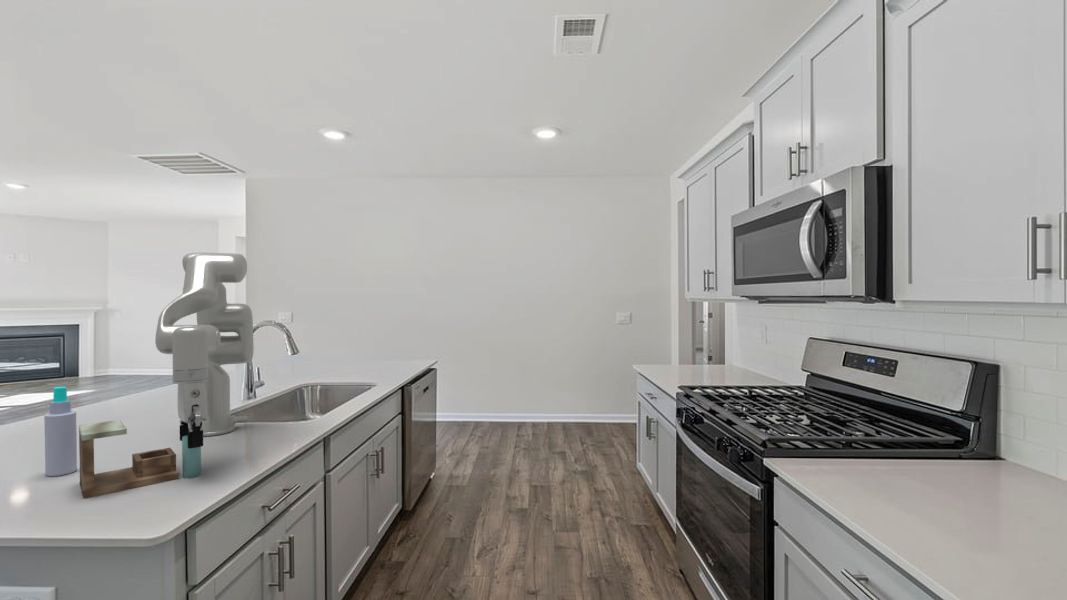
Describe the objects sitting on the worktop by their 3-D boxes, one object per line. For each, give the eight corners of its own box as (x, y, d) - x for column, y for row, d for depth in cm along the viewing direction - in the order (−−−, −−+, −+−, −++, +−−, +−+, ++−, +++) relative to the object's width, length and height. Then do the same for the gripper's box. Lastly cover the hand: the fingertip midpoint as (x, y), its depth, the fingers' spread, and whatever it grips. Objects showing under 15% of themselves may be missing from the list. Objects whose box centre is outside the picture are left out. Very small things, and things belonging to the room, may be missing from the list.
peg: (199, 471, 136) (199, 433, 136) (202, 475, 133) (202, 436, 133) (181, 475, 133) (180, 436, 133) (184, 479, 130) (183, 439, 130)
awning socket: (168, 465, 140) (168, 413, 140) (178, 478, 131) (177, 422, 130) (79, 482, 128) (78, 425, 127) (83, 498, 118) (82, 435, 118)
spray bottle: (51, 470, 136) (50, 386, 136) (80, 467, 139) (79, 384, 138) (40, 478, 131) (39, 390, 130) (71, 475, 133) (70, 388, 133)
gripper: (216, 377, 129) (216, 447, 129) (200, 371, 141) (200, 434, 141) (179, 381, 123) (180, 453, 123) (166, 374, 136) (167, 439, 136)
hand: (191, 443), depth 132 cm, fingers open, 9 cm apart
